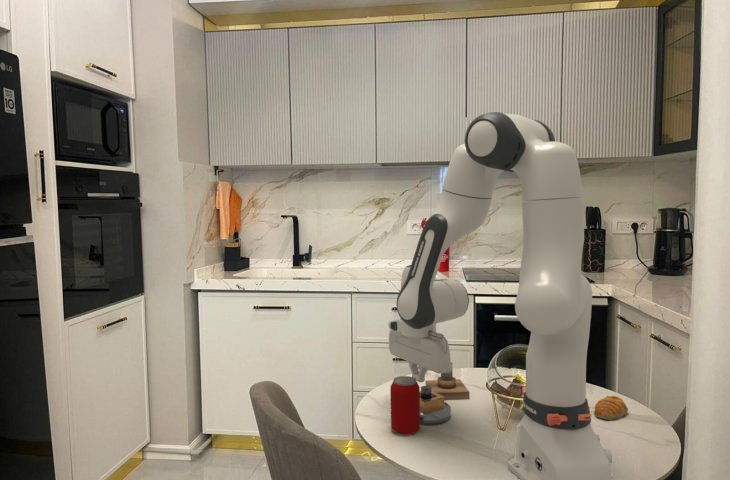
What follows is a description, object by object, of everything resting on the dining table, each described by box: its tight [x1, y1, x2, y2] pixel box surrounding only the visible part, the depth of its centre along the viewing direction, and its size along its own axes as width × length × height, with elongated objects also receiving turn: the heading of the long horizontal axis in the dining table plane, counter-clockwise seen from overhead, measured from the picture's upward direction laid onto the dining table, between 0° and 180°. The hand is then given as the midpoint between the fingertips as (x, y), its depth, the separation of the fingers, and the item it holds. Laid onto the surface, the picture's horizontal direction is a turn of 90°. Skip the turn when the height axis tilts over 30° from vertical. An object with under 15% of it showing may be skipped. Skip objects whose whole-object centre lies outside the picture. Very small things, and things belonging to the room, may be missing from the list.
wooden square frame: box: [420, 390, 446, 415], centre depth 125 cm, size 6×6×3 cm
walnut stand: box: [425, 361, 470, 401], centre depth 139 cm, size 10×10×8 cm
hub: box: [420, 385, 452, 426], centre depth 125 cm, size 12×12×7 cm
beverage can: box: [390, 375, 421, 436], centre depth 116 cm, size 7×7×12 cm
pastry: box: [594, 395, 629, 421], centre depth 124 cm, size 9×7×4 cm
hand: (418, 380), depth 127 cm, fingers closed
